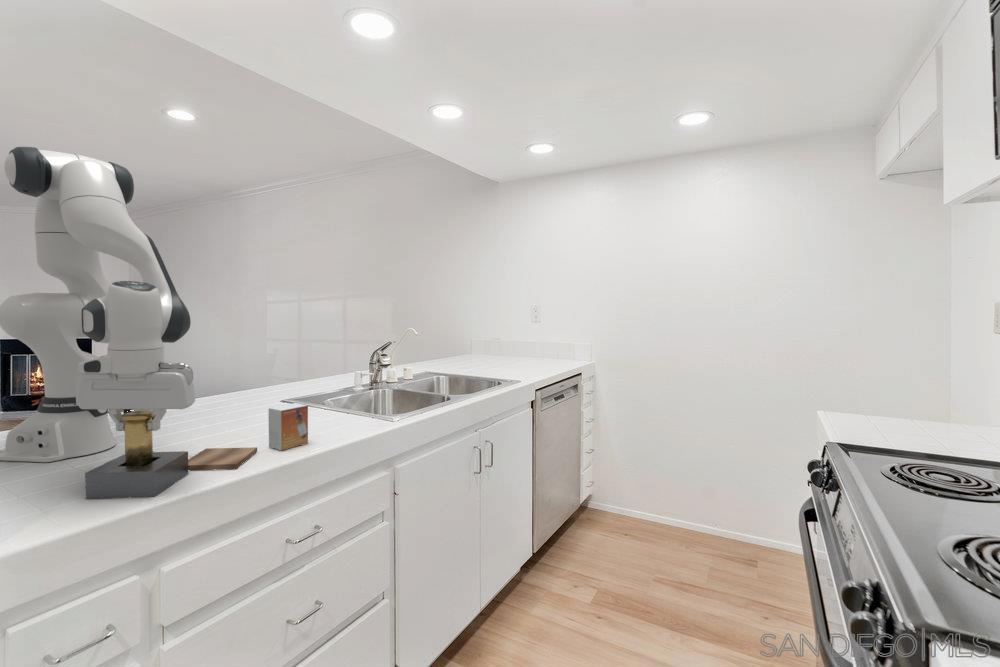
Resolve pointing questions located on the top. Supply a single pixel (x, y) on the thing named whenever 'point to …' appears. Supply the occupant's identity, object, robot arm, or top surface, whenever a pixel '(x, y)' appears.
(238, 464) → the board
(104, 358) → the robot arm
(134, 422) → the gold cylinder
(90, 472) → the block
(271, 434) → the small box
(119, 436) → the top surface
